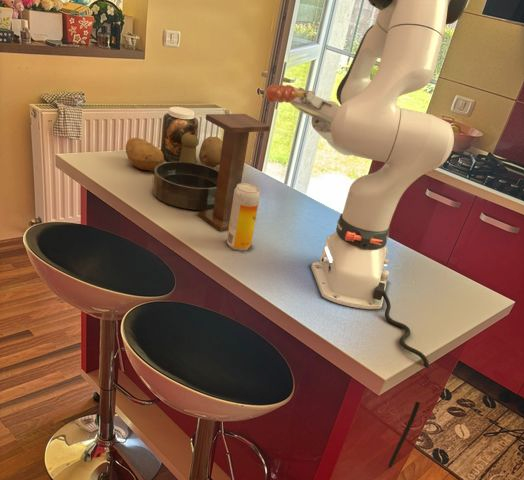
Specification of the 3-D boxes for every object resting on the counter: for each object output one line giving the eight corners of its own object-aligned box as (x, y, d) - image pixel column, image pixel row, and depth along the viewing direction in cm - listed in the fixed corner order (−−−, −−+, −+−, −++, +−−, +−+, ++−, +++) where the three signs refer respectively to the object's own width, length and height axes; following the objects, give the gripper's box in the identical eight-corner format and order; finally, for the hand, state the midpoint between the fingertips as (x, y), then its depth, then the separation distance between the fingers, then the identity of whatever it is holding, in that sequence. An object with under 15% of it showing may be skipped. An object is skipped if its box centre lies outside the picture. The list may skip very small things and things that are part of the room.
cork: (195, 175, 170) (199, 139, 164) (175, 171, 169) (179, 135, 163) (197, 169, 175) (201, 134, 168) (178, 165, 174) (182, 130, 168)
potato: (145, 179, 160) (147, 151, 156) (117, 162, 167) (117, 136, 162) (171, 174, 167) (173, 148, 162) (143, 159, 173) (144, 133, 169)
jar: (153, 153, 180) (155, 105, 171) (182, 151, 187) (186, 104, 178) (172, 165, 173) (176, 116, 165) (202, 163, 180) (207, 116, 172)
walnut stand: (229, 210, 153) (244, 113, 137) (252, 225, 147) (270, 126, 132) (194, 216, 145) (205, 114, 130) (216, 231, 140) (231, 127, 125)
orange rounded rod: (305, 99, 145) (309, 83, 142) (316, 104, 142) (319, 88, 140) (260, 99, 135) (263, 82, 133) (271, 104, 133) (274, 87, 130)
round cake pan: (218, 217, 147) (221, 194, 144) (145, 202, 147) (146, 178, 143) (228, 191, 164) (231, 170, 160) (162, 178, 163) (163, 156, 159)
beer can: (255, 248, 136) (266, 190, 127) (238, 253, 132) (248, 194, 123) (238, 238, 139) (247, 181, 130) (221, 243, 135) (229, 184, 126)
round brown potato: (230, 169, 180) (235, 138, 175) (217, 175, 174) (221, 143, 168) (207, 161, 183) (210, 130, 177) (193, 167, 176) (196, 135, 170)
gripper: (308, 97, 156) (283, 70, 145) (361, 120, 145) (337, 91, 134) (296, 117, 157) (270, 91, 146) (347, 141, 146) (323, 115, 135)
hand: (303, 92), depth 140 cm, fingers closed on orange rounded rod, 2 cm apart
